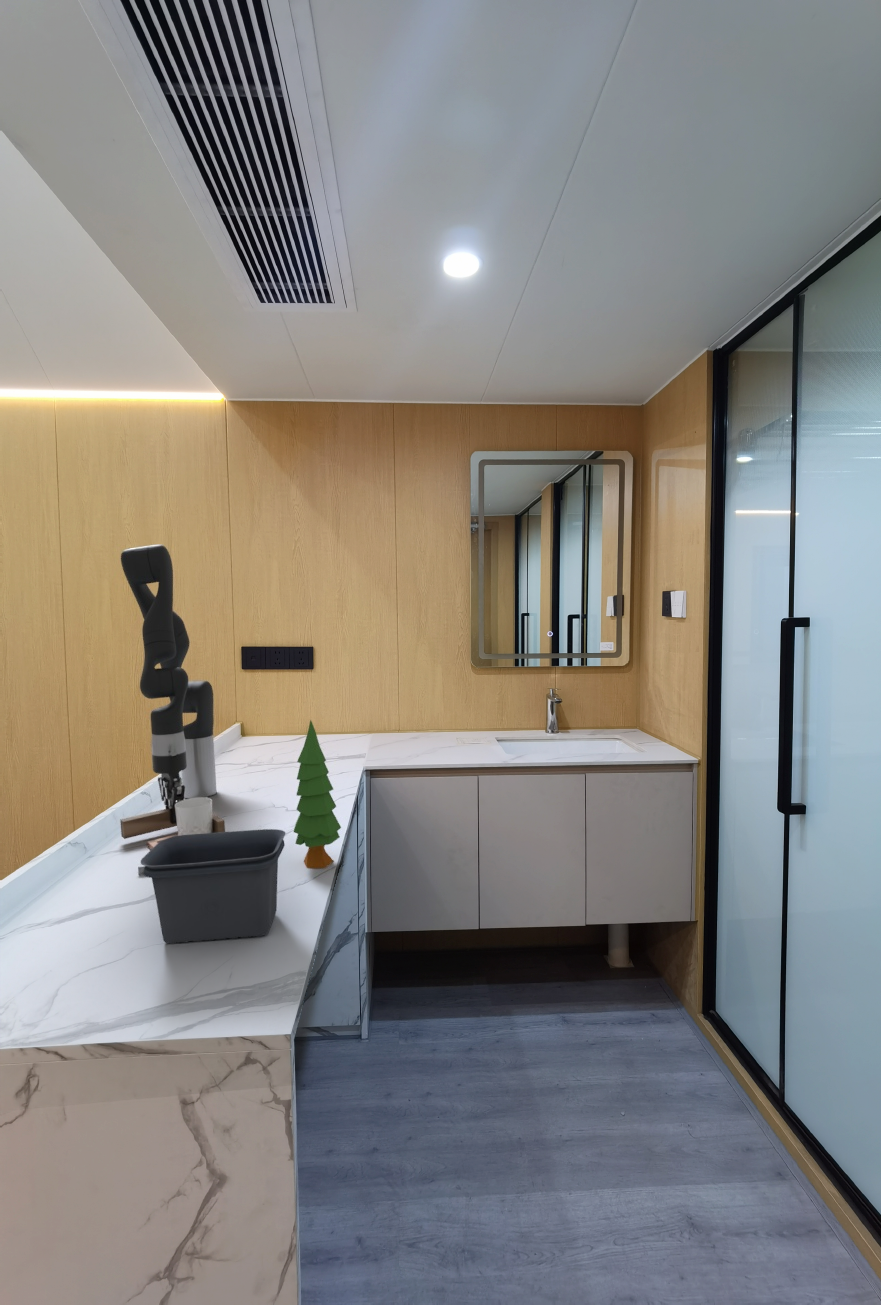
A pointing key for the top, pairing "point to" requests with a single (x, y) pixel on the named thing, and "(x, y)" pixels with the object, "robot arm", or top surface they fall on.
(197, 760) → the robot arm
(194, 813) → the white cup
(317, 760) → the decorative tree
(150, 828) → the wooden l-shaped bracket
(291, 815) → the top surface
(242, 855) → the storage bin
